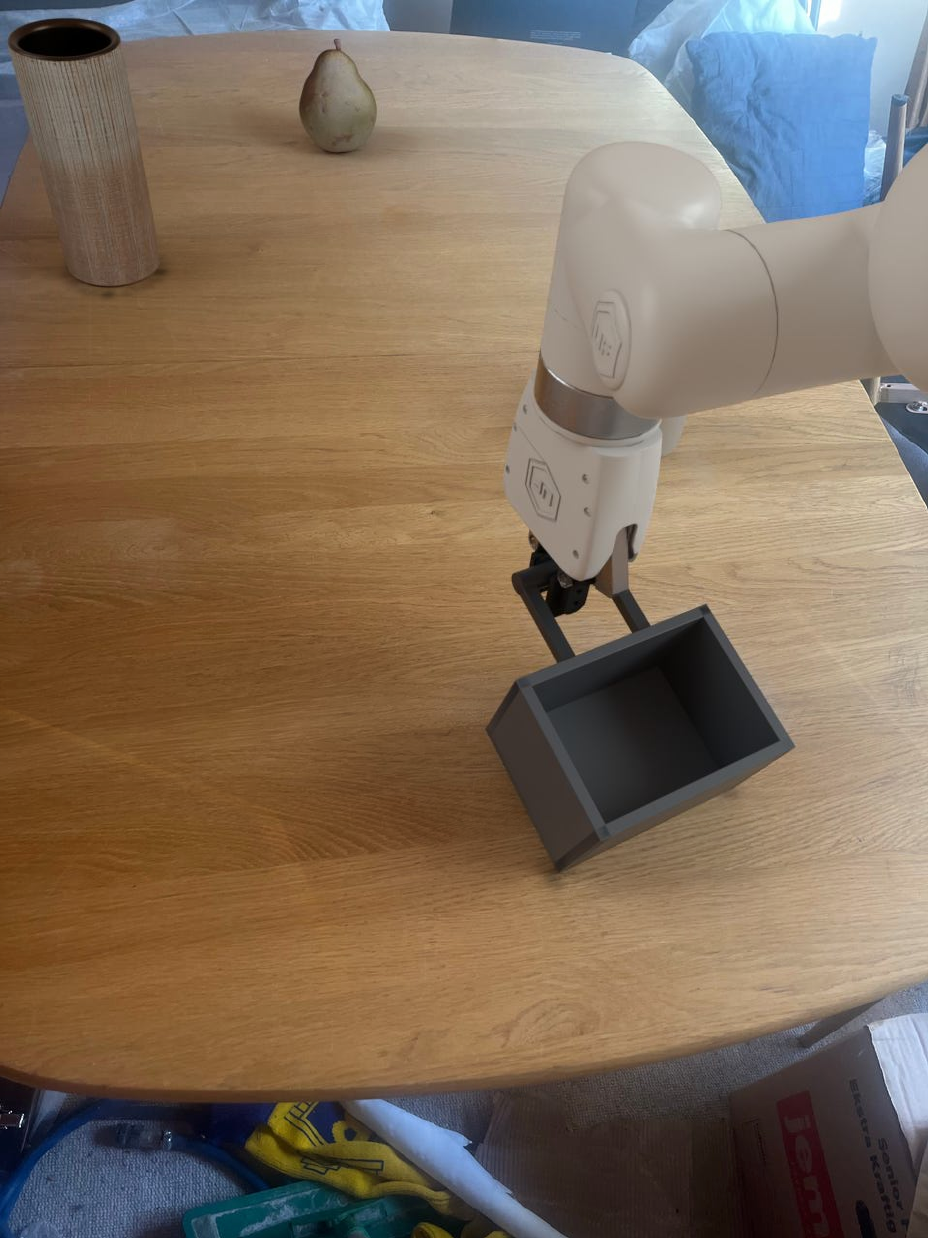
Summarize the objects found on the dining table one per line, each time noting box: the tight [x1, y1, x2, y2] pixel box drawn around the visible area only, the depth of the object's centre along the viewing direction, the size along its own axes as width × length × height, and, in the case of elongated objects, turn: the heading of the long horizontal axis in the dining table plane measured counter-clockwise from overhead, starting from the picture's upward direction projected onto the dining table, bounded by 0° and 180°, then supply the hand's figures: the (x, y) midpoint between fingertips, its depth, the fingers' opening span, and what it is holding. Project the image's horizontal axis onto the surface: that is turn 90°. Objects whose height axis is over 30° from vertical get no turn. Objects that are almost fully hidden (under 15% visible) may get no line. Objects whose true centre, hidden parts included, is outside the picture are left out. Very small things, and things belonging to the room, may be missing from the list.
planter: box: [7, 17, 161, 287], centre depth 98 cm, size 10×10×23 cm
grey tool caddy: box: [485, 559, 797, 874], centre depth 65 cm, size 18×15×9 cm
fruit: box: [298, 38, 378, 153], centre depth 124 cm, size 10×9×12 cm
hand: (554, 597), depth 68 cm, fingers closed on grey tool caddy
